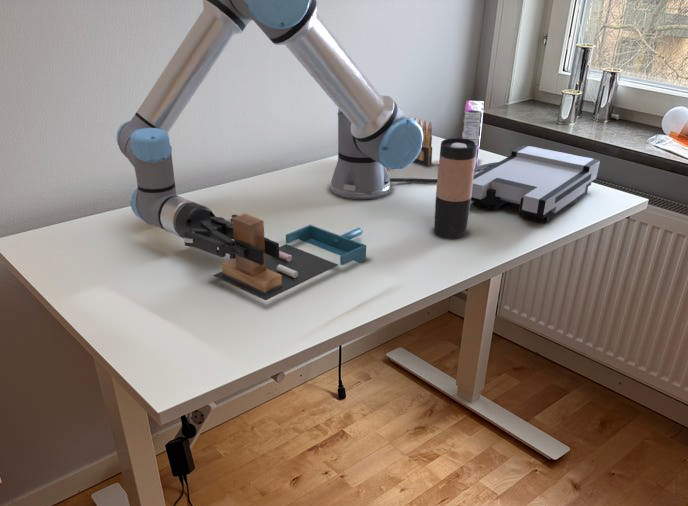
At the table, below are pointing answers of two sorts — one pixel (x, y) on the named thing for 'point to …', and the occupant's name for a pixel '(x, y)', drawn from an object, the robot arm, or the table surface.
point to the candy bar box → (473, 124)
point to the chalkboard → (300, 262)
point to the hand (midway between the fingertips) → (269, 254)
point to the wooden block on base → (245, 269)
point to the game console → (535, 182)
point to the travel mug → (454, 187)
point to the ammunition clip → (425, 145)
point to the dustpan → (332, 242)
